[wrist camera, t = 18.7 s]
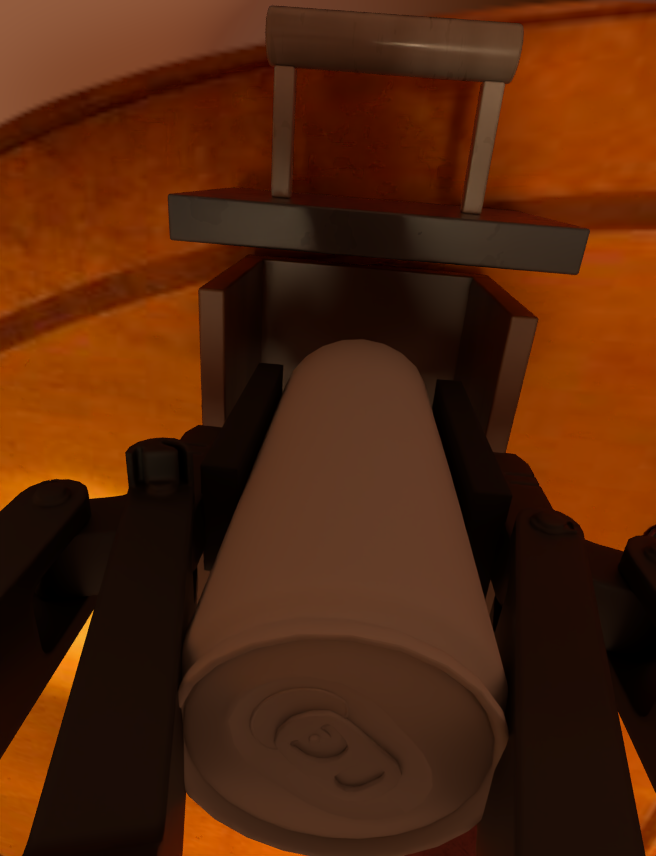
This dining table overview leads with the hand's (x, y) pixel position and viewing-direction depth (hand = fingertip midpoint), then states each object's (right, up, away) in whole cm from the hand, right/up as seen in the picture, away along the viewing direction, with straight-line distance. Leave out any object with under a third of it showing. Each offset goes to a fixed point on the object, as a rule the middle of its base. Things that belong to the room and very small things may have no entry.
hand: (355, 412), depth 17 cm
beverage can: (0, 0, +1) cm, 1 cm away
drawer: (+1, +5, +6) cm, 8 cm away
